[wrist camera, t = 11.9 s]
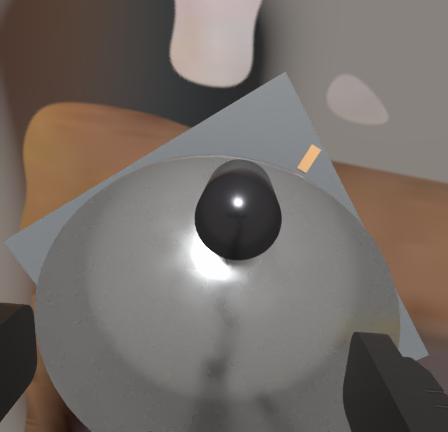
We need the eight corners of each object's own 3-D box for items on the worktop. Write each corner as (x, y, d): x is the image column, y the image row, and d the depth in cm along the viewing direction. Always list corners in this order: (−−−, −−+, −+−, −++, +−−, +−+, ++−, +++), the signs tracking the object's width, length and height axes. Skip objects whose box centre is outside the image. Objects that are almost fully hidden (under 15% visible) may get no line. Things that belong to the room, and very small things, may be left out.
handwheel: (469, 312, 26) (555, 390, 19) (236, 510, 32) (234, 626, 25) (183, 68, 23) (155, 49, 16) (-16, 341, 29) (-103, 418, 22)
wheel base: (174, 445, 39) (161, 504, 33) (17, 233, 33) (-31, 260, 27) (418, 341, 34) (453, 388, 28) (282, 74, 28) (292, 65, 23)
